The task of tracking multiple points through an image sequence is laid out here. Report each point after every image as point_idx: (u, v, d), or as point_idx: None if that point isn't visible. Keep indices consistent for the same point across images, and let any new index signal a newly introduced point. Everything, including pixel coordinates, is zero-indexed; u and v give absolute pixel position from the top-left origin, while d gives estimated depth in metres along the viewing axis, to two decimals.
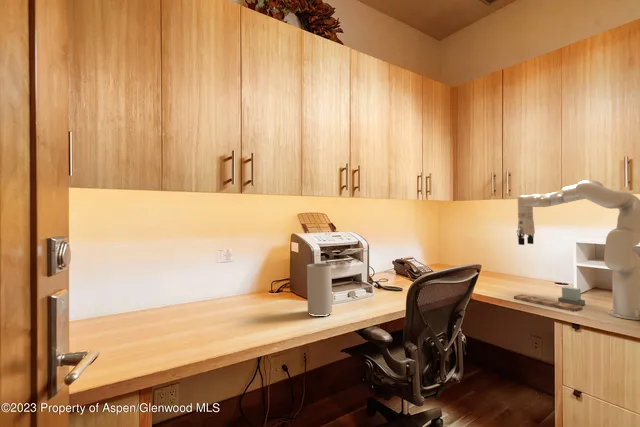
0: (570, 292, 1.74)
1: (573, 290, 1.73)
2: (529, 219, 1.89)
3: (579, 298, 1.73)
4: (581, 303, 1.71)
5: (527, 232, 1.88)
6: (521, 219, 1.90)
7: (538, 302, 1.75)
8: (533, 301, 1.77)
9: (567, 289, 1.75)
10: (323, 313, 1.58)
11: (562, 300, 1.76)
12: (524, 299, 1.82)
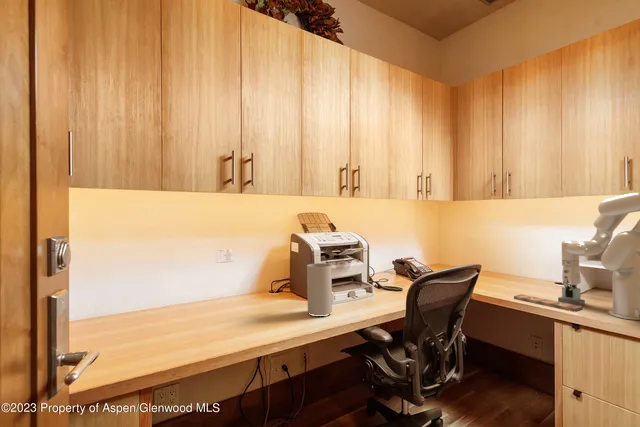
0: None
1: (573, 290, 1.73)
2: (575, 268, 1.73)
3: (579, 298, 1.73)
4: (581, 303, 1.71)
5: (573, 282, 1.71)
6: (566, 267, 1.73)
7: (538, 302, 1.75)
8: (533, 301, 1.77)
9: None
10: (323, 313, 1.58)
11: (562, 300, 1.76)
12: (524, 299, 1.82)
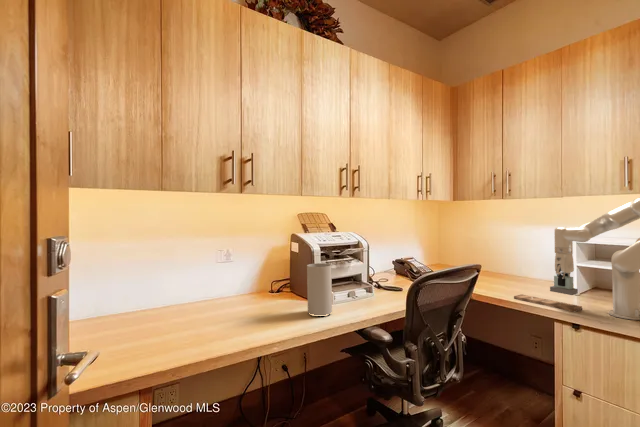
0: None
1: (565, 278, 1.65)
2: (568, 255, 1.65)
3: (572, 287, 1.65)
4: (573, 292, 1.63)
5: (566, 270, 1.64)
6: (559, 255, 1.66)
7: (538, 302, 1.75)
8: (533, 301, 1.77)
9: None
10: (323, 313, 1.58)
11: (554, 289, 1.69)
12: (524, 299, 1.82)
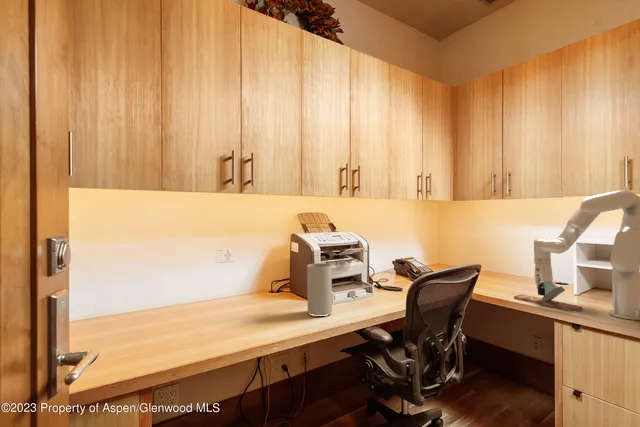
0: (544, 286, 1.74)
1: None
2: (547, 266, 1.74)
3: (555, 286, 1.72)
4: (559, 289, 1.69)
5: (545, 280, 1.73)
6: (538, 266, 1.74)
7: (538, 302, 1.75)
8: (533, 301, 1.77)
9: None
10: (323, 313, 1.58)
11: (545, 297, 1.73)
12: (524, 299, 1.82)
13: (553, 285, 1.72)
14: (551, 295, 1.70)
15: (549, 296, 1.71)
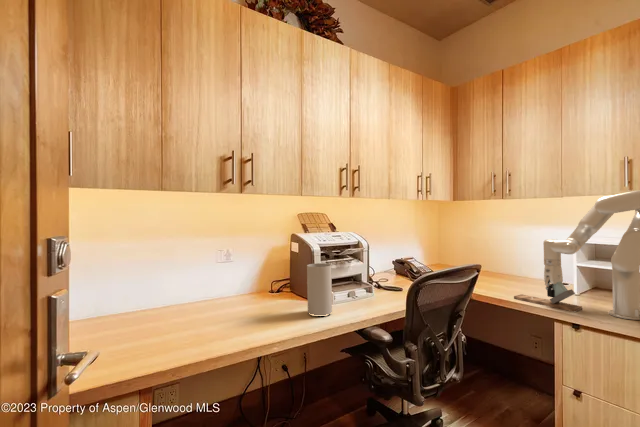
0: (554, 287, 1.70)
1: None
2: (557, 267, 1.70)
3: (565, 289, 1.68)
4: (569, 292, 1.65)
5: (555, 282, 1.68)
6: (548, 267, 1.70)
7: (538, 302, 1.75)
8: (533, 301, 1.77)
9: None
10: (323, 313, 1.58)
11: (554, 299, 1.69)
12: (524, 299, 1.82)
13: (563, 287, 1.68)
14: (560, 297, 1.67)
15: (558, 298, 1.68)
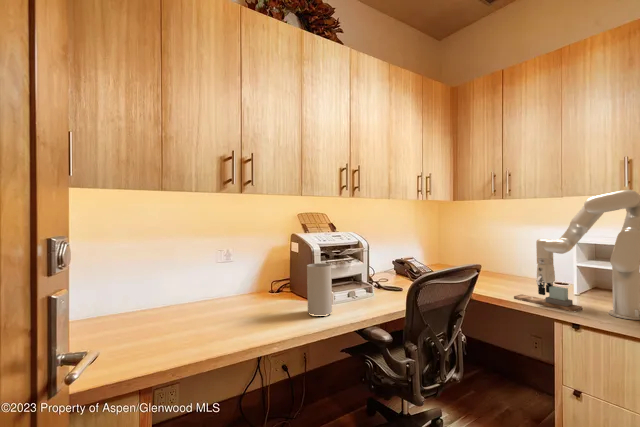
0: (557, 292, 1.69)
1: (560, 289, 1.68)
2: (549, 266, 1.73)
3: (566, 298, 1.67)
4: (568, 303, 1.65)
5: (547, 280, 1.72)
6: (540, 266, 1.73)
7: (538, 302, 1.75)
8: (533, 301, 1.77)
9: (554, 288, 1.70)
10: (323, 313, 1.58)
11: (549, 300, 1.71)
12: (524, 299, 1.82)
13: (566, 296, 1.67)
14: (556, 302, 1.68)
15: (553, 302, 1.69)
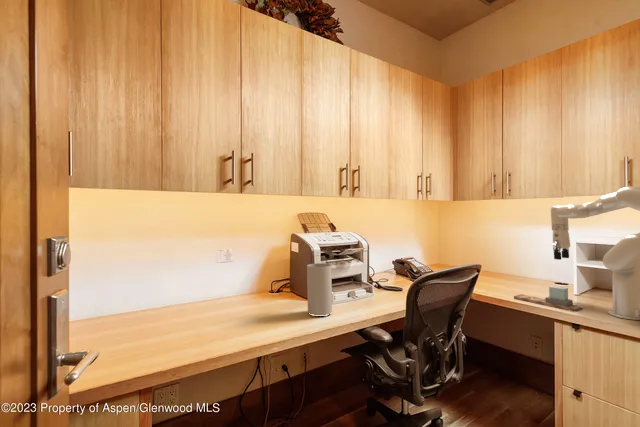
0: (557, 292, 1.69)
1: (560, 289, 1.68)
2: (565, 231, 1.75)
3: (566, 298, 1.67)
4: (568, 303, 1.65)
5: (564, 245, 1.74)
6: (556, 231, 1.75)
7: (538, 302, 1.75)
8: (533, 301, 1.77)
9: (554, 288, 1.70)
10: (323, 313, 1.58)
11: (549, 300, 1.71)
12: (524, 299, 1.82)
13: (566, 296, 1.67)
14: (556, 302, 1.68)
15: (553, 302, 1.69)
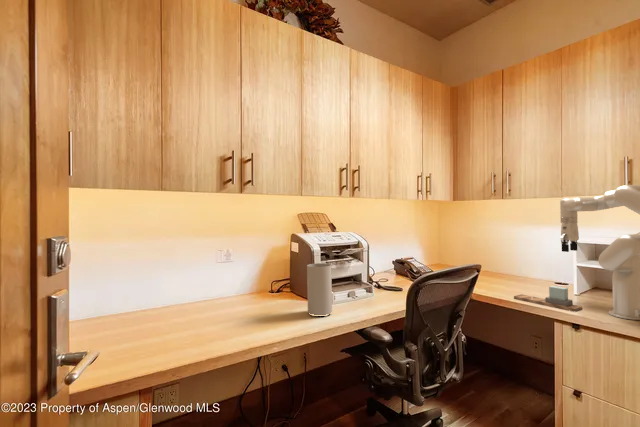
0: (557, 292, 1.69)
1: (560, 289, 1.68)
2: (573, 224, 1.77)
3: (566, 298, 1.67)
4: (568, 303, 1.65)
5: (572, 238, 1.75)
6: (565, 224, 1.77)
7: (538, 302, 1.75)
8: (533, 301, 1.77)
9: (554, 288, 1.70)
10: (323, 313, 1.58)
11: (549, 300, 1.71)
12: (524, 299, 1.82)
13: (566, 296, 1.67)
14: (556, 302, 1.68)
15: (553, 302, 1.69)
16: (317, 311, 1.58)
